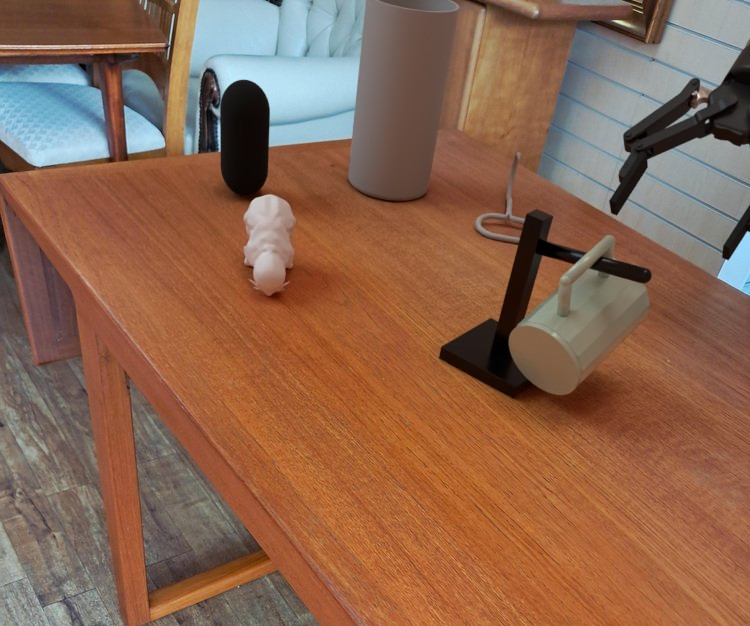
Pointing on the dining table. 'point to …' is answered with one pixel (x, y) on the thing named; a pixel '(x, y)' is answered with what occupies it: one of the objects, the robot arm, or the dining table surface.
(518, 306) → the mug stand
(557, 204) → the dining table surface
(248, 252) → the white animal figurine
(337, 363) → the dining table surface
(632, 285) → the mug
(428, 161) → the cylinder vase
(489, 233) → the hook
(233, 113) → the decorative object
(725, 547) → the dining table surface
